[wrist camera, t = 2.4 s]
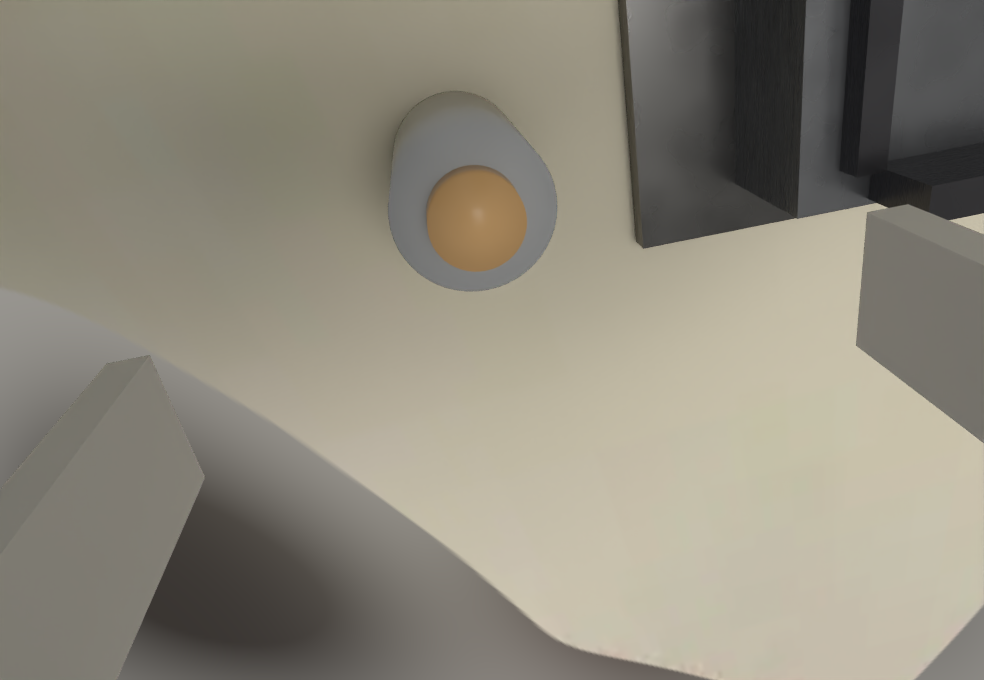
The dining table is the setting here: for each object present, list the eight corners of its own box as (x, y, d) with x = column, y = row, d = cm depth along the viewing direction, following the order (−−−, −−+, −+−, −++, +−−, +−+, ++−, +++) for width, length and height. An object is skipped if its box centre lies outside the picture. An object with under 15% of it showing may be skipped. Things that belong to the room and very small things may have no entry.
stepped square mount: (636, 241, 30) (721, 330, 22) (607, -145, 23) (713, -221, 15) (1077, 153, 30) (1320, 208, 22) (1168, -250, 24) (1555, -376, 16)
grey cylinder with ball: (408, 228, 28) (409, 321, 20) (379, 104, 26) (367, 152, 18) (526, 205, 28) (574, 288, 20) (507, 80, 26) (553, 116, 18)
